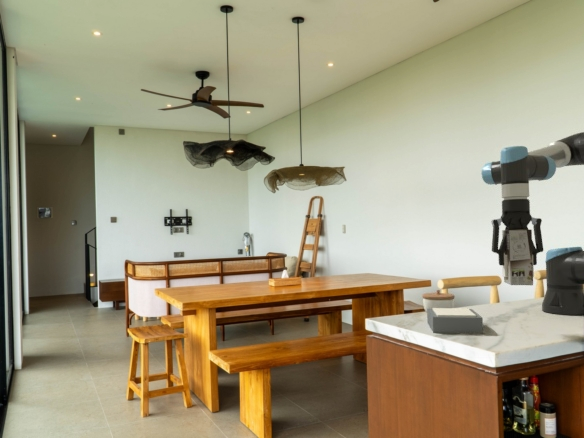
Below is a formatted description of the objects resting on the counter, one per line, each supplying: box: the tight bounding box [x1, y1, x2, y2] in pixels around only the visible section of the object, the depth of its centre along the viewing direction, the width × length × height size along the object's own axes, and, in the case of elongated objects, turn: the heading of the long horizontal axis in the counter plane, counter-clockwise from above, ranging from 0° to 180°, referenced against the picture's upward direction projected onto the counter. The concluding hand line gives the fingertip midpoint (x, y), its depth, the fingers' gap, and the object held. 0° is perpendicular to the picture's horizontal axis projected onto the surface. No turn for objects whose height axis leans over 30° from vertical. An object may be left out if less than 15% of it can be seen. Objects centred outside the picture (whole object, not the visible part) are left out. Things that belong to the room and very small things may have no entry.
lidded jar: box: [422, 289, 455, 314], centre depth 172 cm, size 11×11×9 cm
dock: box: [426, 307, 484, 335], centre depth 152 cm, size 14×16×5 cm
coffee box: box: [501, 228, 534, 286], centre depth 146 cm, size 9×6×16 cm
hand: (518, 276), depth 146 cm, fingers closed on coffee box, 6 cm apart
